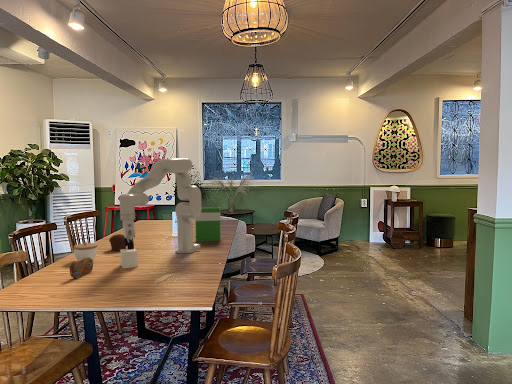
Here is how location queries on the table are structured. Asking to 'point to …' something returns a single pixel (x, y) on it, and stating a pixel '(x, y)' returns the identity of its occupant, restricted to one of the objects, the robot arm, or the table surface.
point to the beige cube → (128, 258)
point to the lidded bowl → (85, 250)
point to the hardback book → (208, 224)
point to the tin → (81, 267)
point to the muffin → (117, 242)
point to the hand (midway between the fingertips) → (129, 247)
